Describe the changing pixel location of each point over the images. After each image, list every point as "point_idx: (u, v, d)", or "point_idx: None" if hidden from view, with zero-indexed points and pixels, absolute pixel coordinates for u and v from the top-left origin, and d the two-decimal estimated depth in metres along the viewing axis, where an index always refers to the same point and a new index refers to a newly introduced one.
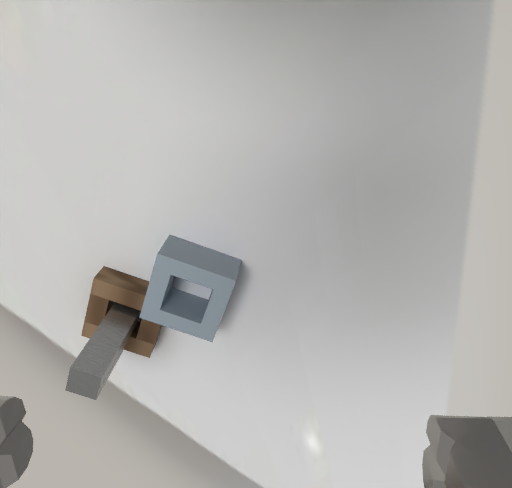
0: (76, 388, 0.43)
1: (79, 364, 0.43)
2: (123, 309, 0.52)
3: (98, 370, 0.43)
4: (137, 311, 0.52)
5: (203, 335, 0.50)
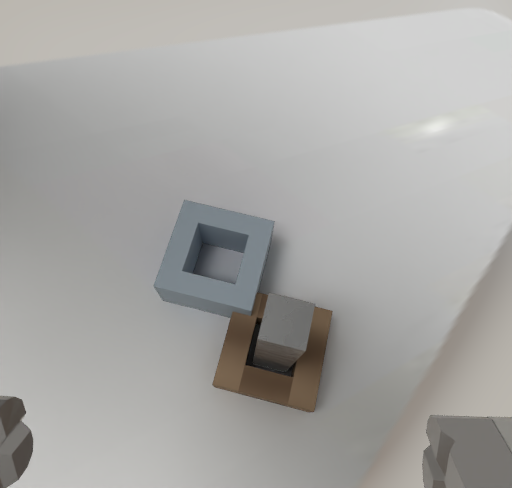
0: (298, 332, 0.28)
1: None
2: None
3: None
4: None
5: (266, 231, 0.40)
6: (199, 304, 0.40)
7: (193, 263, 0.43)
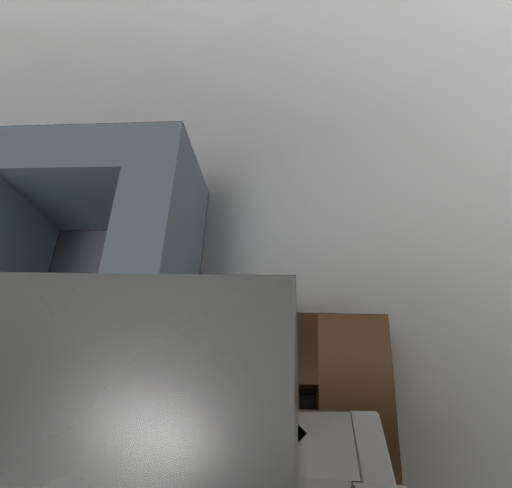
0: None
1: None
2: None
3: None
4: None
5: (164, 148, 0.15)
6: None
7: None
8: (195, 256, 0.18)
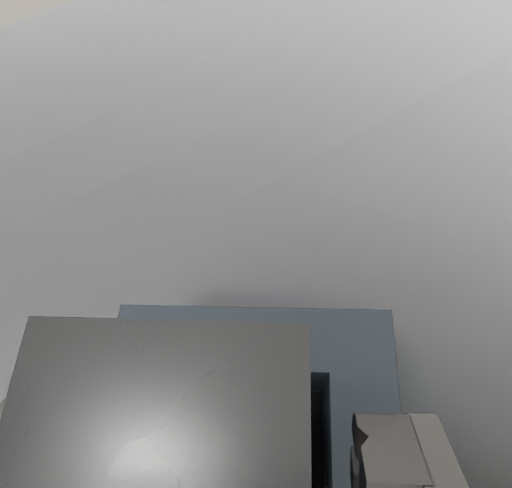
0: None
1: None
2: None
3: None
4: None
5: (378, 349, 0.13)
6: None
7: None
8: None
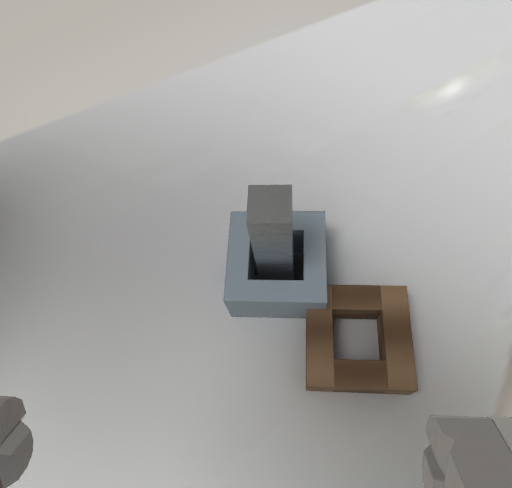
0: (281, 210, 0.30)
1: None
2: None
3: None
4: None
5: (319, 222, 0.40)
6: (270, 310, 0.39)
7: (252, 272, 0.42)
8: None
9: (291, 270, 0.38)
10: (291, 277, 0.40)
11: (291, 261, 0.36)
